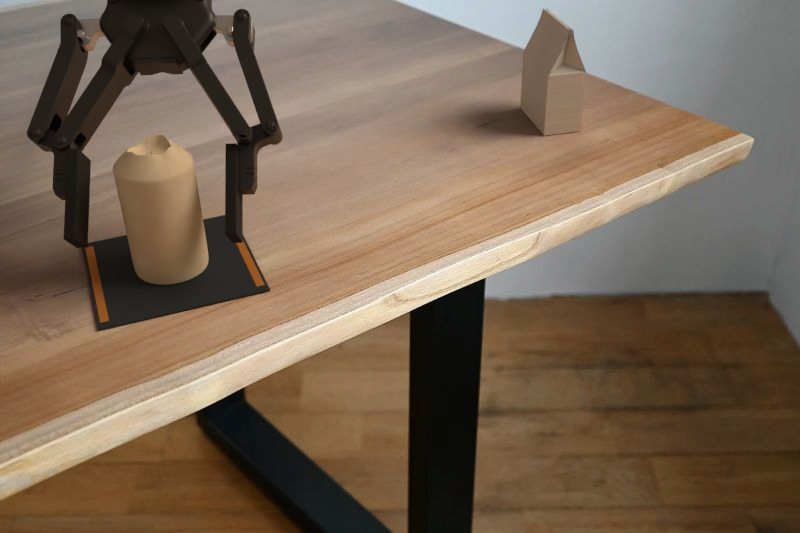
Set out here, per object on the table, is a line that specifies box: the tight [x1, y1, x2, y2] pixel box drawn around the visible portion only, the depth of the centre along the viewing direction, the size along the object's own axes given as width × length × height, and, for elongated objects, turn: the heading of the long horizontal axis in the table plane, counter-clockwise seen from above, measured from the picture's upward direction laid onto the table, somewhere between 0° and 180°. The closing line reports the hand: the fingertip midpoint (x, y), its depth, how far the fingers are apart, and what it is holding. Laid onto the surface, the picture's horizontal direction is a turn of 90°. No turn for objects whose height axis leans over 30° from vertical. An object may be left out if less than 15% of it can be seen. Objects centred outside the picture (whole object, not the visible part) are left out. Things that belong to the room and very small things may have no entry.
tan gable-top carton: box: [519, 8, 587, 136], centre depth 87 cm, size 4×7×10 cm, turn 13°
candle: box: [112, 134, 209, 285], centre depth 65 cm, size 6×6×10 cm
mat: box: [82, 214, 271, 332], centre depth 68 cm, size 12×12×1 cm
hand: (155, 241), depth 64 cm, fingers open, 10 cm apart
